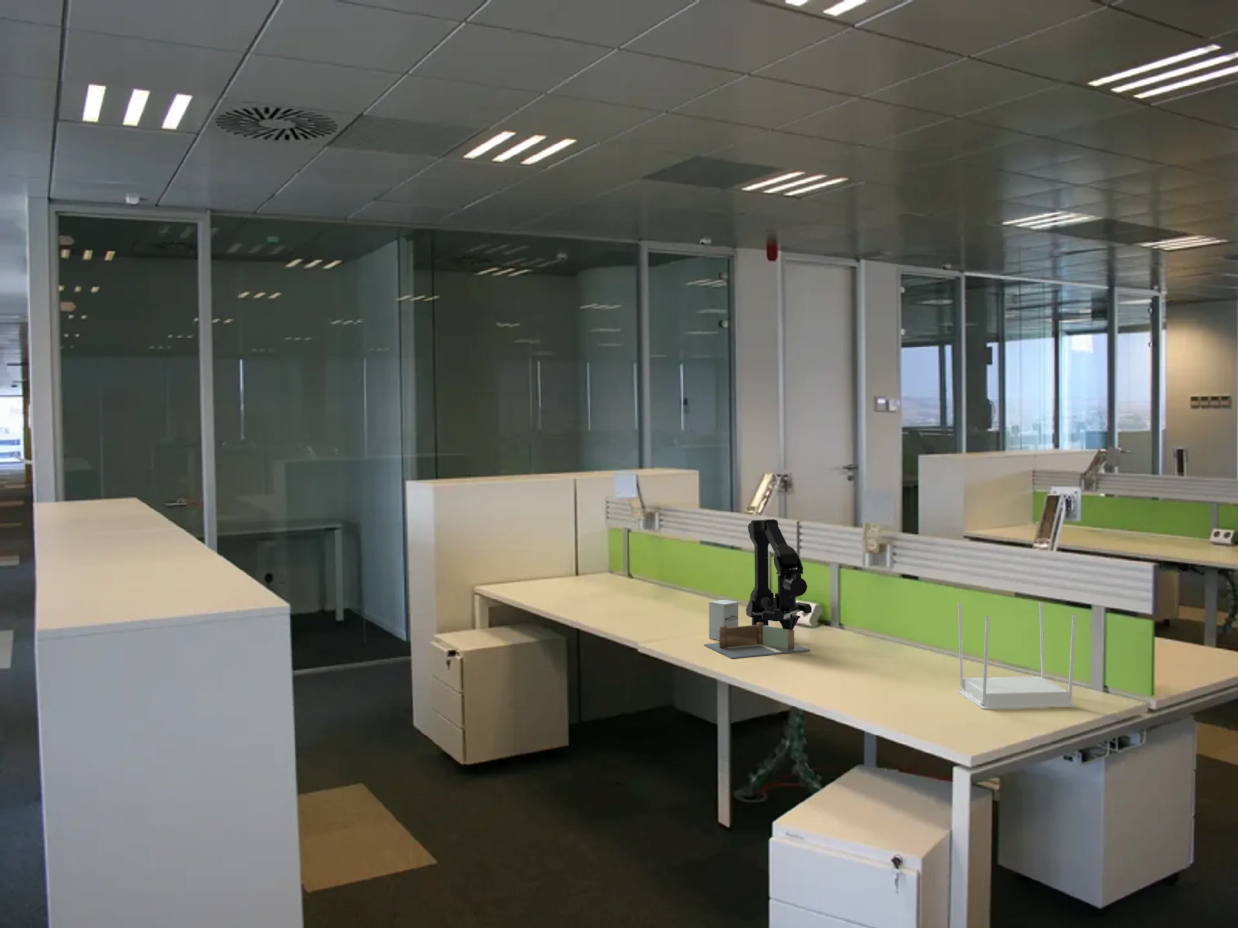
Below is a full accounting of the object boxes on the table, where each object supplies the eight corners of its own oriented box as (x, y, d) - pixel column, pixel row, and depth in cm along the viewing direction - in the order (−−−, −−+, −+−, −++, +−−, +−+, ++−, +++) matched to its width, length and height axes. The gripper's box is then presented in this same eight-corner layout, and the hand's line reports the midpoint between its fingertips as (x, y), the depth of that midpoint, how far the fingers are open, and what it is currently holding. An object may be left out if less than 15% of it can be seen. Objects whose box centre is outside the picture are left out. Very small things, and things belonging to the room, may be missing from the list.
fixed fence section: (718, 647, 334) (718, 625, 334) (761, 643, 340) (761, 622, 340) (721, 648, 332) (721, 627, 332) (765, 644, 338) (765, 623, 337)
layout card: (704, 645, 339) (704, 643, 339) (779, 638, 349) (779, 636, 349) (731, 658, 320) (731, 656, 320) (809, 651, 330) (809, 649, 330)
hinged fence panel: (765, 643, 338) (765, 625, 338) (795, 648, 329) (795, 630, 329) (761, 644, 337) (761, 625, 336) (791, 649, 328) (791, 631, 328)
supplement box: (723, 641, 345) (723, 604, 345) (708, 638, 351) (708, 601, 350) (739, 638, 350) (738, 601, 349) (723, 634, 356) (723, 598, 355)
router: (1077, 708, 264) (1078, 615, 263) (982, 710, 262) (983, 617, 261) (1042, 688, 283) (1043, 601, 282) (953, 690, 282) (954, 603, 280)
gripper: (785, 583, 344) (786, 629, 345) (748, 591, 332) (749, 638, 333) (812, 587, 336) (813, 634, 337) (775, 595, 324) (776, 644, 325)
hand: (787, 637), depth 333 cm, fingers closed
